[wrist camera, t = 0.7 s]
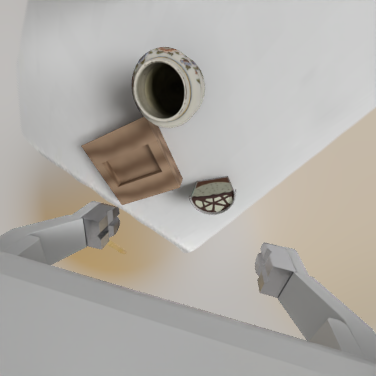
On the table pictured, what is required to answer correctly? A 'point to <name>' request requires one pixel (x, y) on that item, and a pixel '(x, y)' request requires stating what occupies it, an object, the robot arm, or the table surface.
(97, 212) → the robot arm
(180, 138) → the table surface
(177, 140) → the table surface
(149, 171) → the walnut base
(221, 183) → the food container
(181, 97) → the apothecary jar
